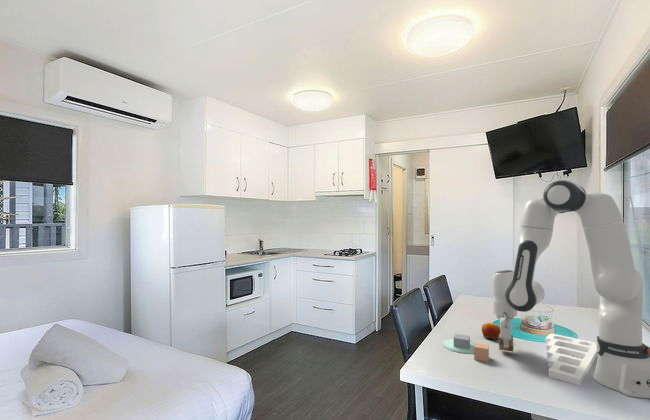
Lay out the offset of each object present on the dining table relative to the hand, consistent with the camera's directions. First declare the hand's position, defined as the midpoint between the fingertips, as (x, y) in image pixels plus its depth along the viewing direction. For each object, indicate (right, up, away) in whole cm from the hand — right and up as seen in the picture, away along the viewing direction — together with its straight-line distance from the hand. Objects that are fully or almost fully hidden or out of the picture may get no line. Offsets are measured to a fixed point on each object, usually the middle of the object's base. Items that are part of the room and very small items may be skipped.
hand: (506, 344), depth 139 cm
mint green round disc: (-15, -4, +7) cm, 17 cm away
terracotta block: (-13, -3, -6) cm, 14 cm away
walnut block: (0, -2, 0) cm, 2 cm away
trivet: (+20, -4, -5) cm, 21 cm away
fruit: (+2, -4, +17) cm, 18 cm away
